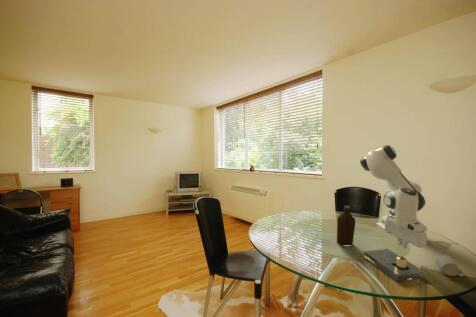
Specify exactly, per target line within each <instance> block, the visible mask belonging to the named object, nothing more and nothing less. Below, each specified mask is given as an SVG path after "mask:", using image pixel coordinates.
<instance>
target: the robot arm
mask: <svg viewBox="0 0 476 317" xmlns="http://www.w3.org/2000/svg"><path fill="white" fill-rule="evenodd" d="M397 156H398V155H397V151H396V149H395V148H394V147H393V146H391V145H388V144H387V145H383V146H381V147H379V148H377V149H375V150H371V151H369V152H368V153H367V154H366V155H365V156H363V157H361V159H360V161H359V162H360V166H361V167H362V169H364V170H365V171H367V172H370V174H371V175H372V176H373V177H374V178H376V179H379V180H382V181H386V185H387V188H389V189H390V191H387V192H385V194H384V195H383V204H384V205H385V207H387V208H389V209H391V210H388V213H389V214H386V215H384V216H382V217H381V218H380V221H377V222H376V226H379V227H380V228H381V229H383V230H385V231H386V232H388V233H389V234H391V235H394V236H396V239H397V242H398V246H399V247H401V248H403V249H407V246H408V245H409V244H410V245H412V246H415V247H416V248H418V249H420V248H421V249H422V248H425V247H426V246H427V244H428V242H427V240H428V235H427V232H426V231H428V227H427V226H426V225H425V224H423V223H422V222H421V221H420V220H419V219H418V216H417V212H419V211H421V210H422V209H423V208H424V207H425V205H426V199H425V197H424V195H423V194H422V191H423V190H422V187H421V186H420V184H418V183H416V182H414V181H412V180H409V179H407V178H406V176H405V175H404V174H403V173H402V170H401V168H400V167H399V166H398V165H397V163H396V162H395V161H394V160H395V159H396V158H397Z"/></svg>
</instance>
